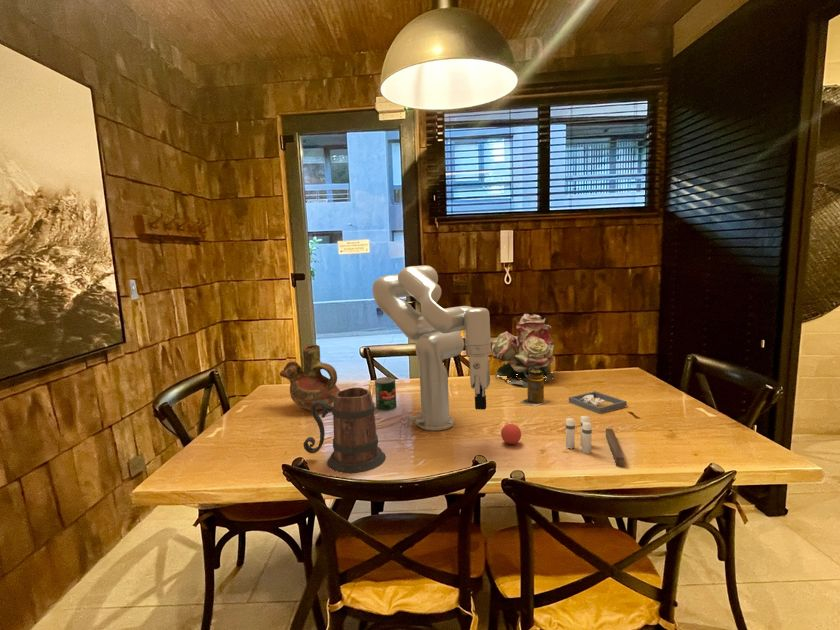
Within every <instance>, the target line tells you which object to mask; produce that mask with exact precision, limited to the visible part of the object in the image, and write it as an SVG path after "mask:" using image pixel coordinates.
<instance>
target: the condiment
mask: <svg viewBox="0 0 840 630" xmlns="http://www.w3.org/2000/svg"><path fill="white" fill-rule="evenodd" d="M528 373H529V375H528V376H529V377H528V379H527V380H528V388H527V398H526V399H523V400H521V401H520V403H522V404H524V405H529V406H533V407H538V406H540V405H541V404H545V403H547V402H548V401H549V400H548V399H545V398H544V396H545V392H544V391H545V390H544V389H545V387H544V386H545V385H544V379H543V372H542V371H541V370H530V371H529V372H528Z"/></svg>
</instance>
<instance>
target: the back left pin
mask: <svg viewBox="0 0 840 630" xmlns="http://www.w3.org/2000/svg"><path fill="white" fill-rule="evenodd" d="M590 419H591V417H590V416H587V415H582V416H580V445H581V446H582V426H583V422H589V423H591V422H590Z"/></svg>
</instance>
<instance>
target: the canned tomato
mask: <svg viewBox="0 0 840 630" xmlns="http://www.w3.org/2000/svg"><path fill="white" fill-rule="evenodd" d="M374 389H375V410H376V411H379V412H390V410H391V411H394V410H396V409H397V392H396V391H397V390H396V389H397V387H396V378H394V377H392V376H386V377H385V376H382V377H379V378H376V379H375V380H374ZM393 409H394V410H393Z"/></svg>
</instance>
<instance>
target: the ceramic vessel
mask: <svg viewBox="0 0 840 630" xmlns="http://www.w3.org/2000/svg"><path fill="white" fill-rule="evenodd" d="M302 351H303V353H302V354H303V357H302V359H303V368H302V366H300V364H298V362H297V361H289V362H287V364H286V365H285V367H283V370H280V372H279V377H282V378H285V379H287V380H288V381H289V394H290V399H291V400H292V401H293V402H294V404H296V405H297V406H298V407H300V408H302V409H305V410H308V411H310V412H311V406H312V405H313V404H314V402H316V401H318V400H322V401H324V402H326V403H327V404H328V405H329V407H330V406H331V405H333V404H334V396H335V393H336V392H338V391H341V390H340V388H338V386H337V385H336V384H337V381H338V374H337V370H336V368H335V367H334V366H333V365H331V364H329V363H326V362H321V347H320V345H318V344H308V345H306V346H304V347H303V350H302ZM321 370H324V371H326V372H327V374H328V375H329V378H328V377H327V376H326V375H323V373H322V371H321ZM320 410H322V406H320V405H316V411H317V412H318V411H320Z"/></svg>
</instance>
